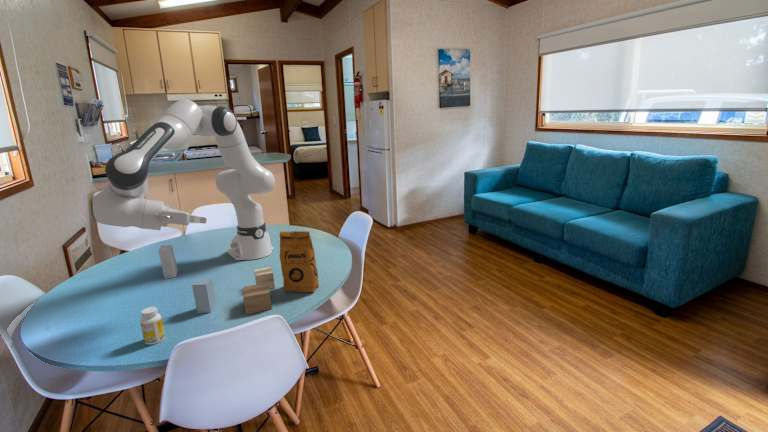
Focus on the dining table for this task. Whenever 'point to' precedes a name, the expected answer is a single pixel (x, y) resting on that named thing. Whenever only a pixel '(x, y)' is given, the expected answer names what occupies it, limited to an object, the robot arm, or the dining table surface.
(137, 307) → the dining table surface
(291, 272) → the coffee package
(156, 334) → the supplement bottle
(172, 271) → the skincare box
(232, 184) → the robot arm
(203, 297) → the slate block
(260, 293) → the walnut block
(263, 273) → the birch block
